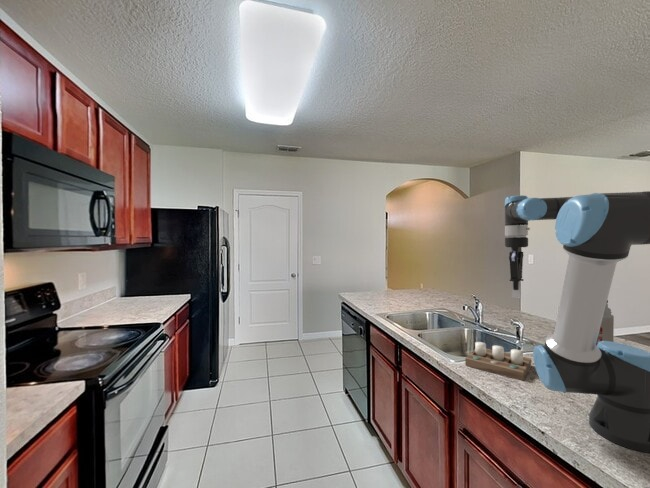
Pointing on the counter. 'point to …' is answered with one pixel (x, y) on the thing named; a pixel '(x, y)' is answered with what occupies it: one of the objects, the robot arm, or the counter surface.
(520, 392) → the counter surface
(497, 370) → the button board
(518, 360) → the button
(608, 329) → the thermos bottle
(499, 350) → the button
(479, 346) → the white rounded cylinder
